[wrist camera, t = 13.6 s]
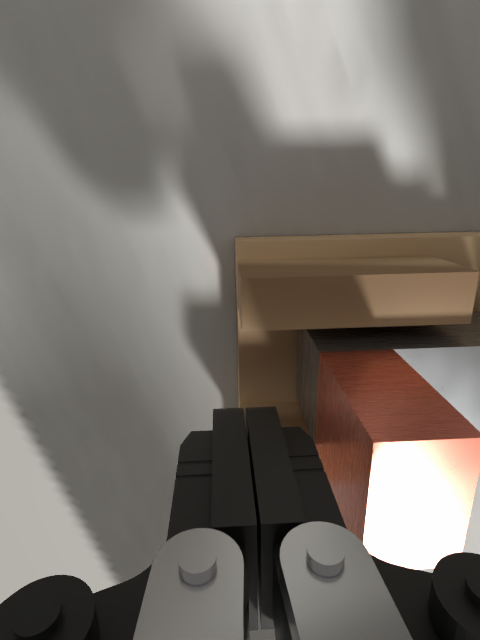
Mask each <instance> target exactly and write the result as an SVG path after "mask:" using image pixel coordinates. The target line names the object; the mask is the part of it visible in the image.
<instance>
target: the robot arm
mask: <svg viewBox="0 0 480 640" xmlns="http://www.w3.org/2000/svg"><path fill="white" fill-rule="evenodd" d="M258 602H259V612H260V622H261V629H275V636H276V640H480V555H479V554H474V553H465V552H459V553H452V554H449V555H446V556H445V557H443V558H441V559H440V560H439V561H438V562H437V564H436V566H435V567H434V571H433V573H429V572H425V571H421V570H416V569H412V568H408V567H403V566H399V565H395V564H392V563H388V562H386V561H384V560H381V559H379V558H377V557H375V556H373V555H372V554H370V553H369V551H368V550H367V548H366V546H365V545H364V544H363V542H362V541H361V540H360V539H359V538H358V537H357V536H356V535H355V534H353V533H352V532H350V531H349V530H347V528H346V525H345V523H344V520H343V518H342V515H341V512H340V510H339V507H338V504H337V502H336V499H335V496H334V494H333V491H332V488H331V486H330V483H329V480H328V478H327V475H326V472H324V467H323V464H322V462H321V459H320V458H319V454H318V451H317V448H316V446H315V443H314V440H313V439H312V438H311V437H310V436H309V435H308V434H307V433H306V432H305V431H304V430H303V429H302V428H300V427H299V426H297V427H281V424H280V420H279V416H278V412H277V409H276V407H275V406H270V407H247V408H245V417H244V409H243V408H226V409H213V431H191V432H190V434H189V435H188V436H187V438H186V439H185V440H184V441H183V443H182V444H181V445H180V451H179V458H178V465H177V472H176V480H175V487H174V494H173V501H172V508H171V515H170V522H169V529H168V536H167V540H166V543H165V544H164V545H163V546H162V547H161V548H160V549H159V551H158V552H157V554H156V556H155V558H154V560H153V563H152V565H151V566H149V567H148V568H147V569H146V570H145V571H143V572H142V573H141V574H139V575H137V576H136V577H134V578H132V579H130V580H128V581H125V582H123V583H120V584H118V585H115V586H112V587H110V588H107V589H104V590H101V591H99V592H96V593H94V594H93V593H92V591H91V589H90V587H89V586H88V585H87V584H86V583H85V582H84V581H82V580H81V579H79V578H76V577H74V576H68V575H55V576H49V577H46V578H42V579H39V580H37V581H34V582H32V583H30V584H28V585H26V586H24V587H23V588H21V589H20V590H18V591H17V592H15V593H14V594H13V595H11V596H10V597H9V598H7V599H6V600H5V601H4V602H2V603H1V604H0V640H250V638H249V630H258Z"/></svg>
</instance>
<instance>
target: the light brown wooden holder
mask: <svg viewBox="0 0 480 640" xmlns="http://www.w3.org/2000/svg"><path fill="white" fill-rule="evenodd" d="M235 262H236V310H237V358H238V407H239V408H243V409H244V417H245V408H247V407H270V406H275V407H276V409H277V412H278V416H279V420H280V424H281V427H297V426H299V427H300V428H302V429H303V430H304V431H305V432H306V433H307V434H308V435H309V436H310V433H309V431H308V428H307V425H306V422H305V420H304V417H303V414H302V411H301V409H300V406H299V403H298V400H297V398H296V380H297V347H298V329H328V328H358V327H388V326H418V325H447V324H471V318H472V312H473V311H480V232H439V233H397V234H355V235H313V236H270V237H235ZM310 437H311V436H310Z"/></svg>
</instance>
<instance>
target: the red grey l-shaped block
mask: <svg viewBox="0 0 480 640" xmlns="http://www.w3.org/2000/svg"><path fill="white" fill-rule="evenodd" d="M296 398H297V400H298V403H299V406H300V409H301V411H302V414H303V417H304V420H305V422H306V425H307V428H308V431H309V433H310V436H311V438H312V439H313V440H314V443H315V446H316V448H317V451H318V454H319V458H320V459H321V462H322V464H323V467H324V472H326V475H327V478H328V480H329V483H330V486H331V488H332V491H333V494H334V496H335V499H336V502H337V504H338V507H339V510H340V512H341V515H342V518H343V520H344V523H345V525H346V528H347V530H349V531H350V532H352V533H353V534H355V535H356V536H357V537H358V538H359V539H360V540H361V541H362V542H363V544H364V545H365V546H366V548H367V550H368V551H369V553H370V554H372V555H373V556H375V557H377V558H379V559H381V560H384V561H386V562H388V563H392V564H395V565H399V566H403V567H408V568H412V569H430V568H434V567H435V566H436V564H437V562H438V561H439V560H440V559H441V558H443V557H445V556H446V555H449V554H452V553H459V552H463V547H464V543H465V538H466V533H467V528H468V523H469V518H470V513H471V509H472V504H473V499H474V494H475V489H476V484H477V479H478V474H479V470H480V311H473V312H472V318H471V324H447V325H418V326H388V327H358V328H328V329H298V347H297V380H296Z"/></svg>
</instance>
